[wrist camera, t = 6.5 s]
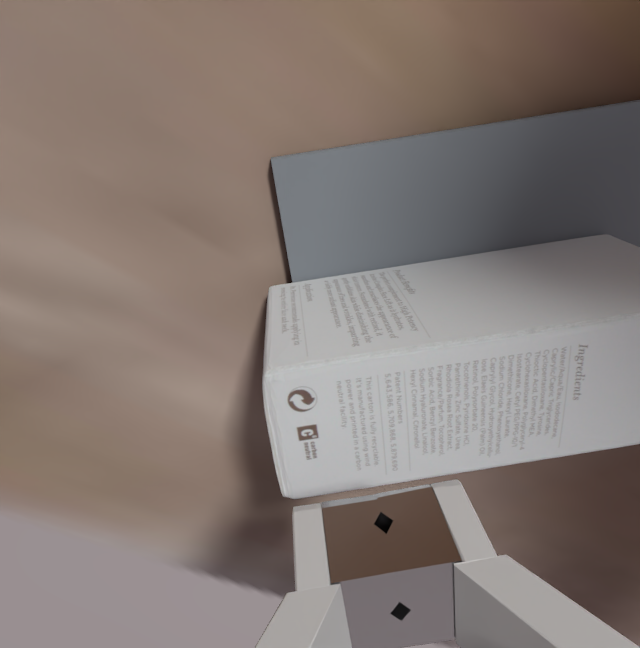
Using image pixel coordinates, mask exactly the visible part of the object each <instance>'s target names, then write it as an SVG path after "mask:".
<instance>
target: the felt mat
mask: <svg viewBox="0 0 640 648" xmlns="http://www.w3.org/2000/svg"><path fill="white" fill-rule="evenodd" d="M271 164H272V169H273V175H274V181H275V187H276V192H277V198H278V204H279V209H280V215H281V221H282V227H283V232H284V238H285V244H286V249H287V255H288V261H289V267H290V272H291V278H292V283H294V282H301V281H307V280H313V279H319V278H325V277H332V276H339V275H345V274H351V273H358V272H364V271H371V270H377V269H384V268H390V267H397V266H403V265H409V264H416V263H422V262H428V261H435V260H441V259H447V258H453V257H460V256H466V255H472V254H479V253H485V252H491V251H498V250H504V249H511V248H517V247H523V246H530V245H536V244H543V243H549V242H556V241H562V240H569V239H575V238H582V237H589V236H596V235H604V234H608V235H611V236H613V237H615V238H618V239H620V240H623V241H625V242H628V243H630V244H633V245H635V246H637V247H640V100H635V101H629V102H623V103H616V104H610V105H604V106H597V107H591V108H584V109H578V110H572V111H565V112H559V113H553V114H546V115H540V116H533V117H527V118H521V119H514V120H508V121H502V122H495V123H489V124H482V125H476V126H470V127H463V128H457V129H451V130H444V131H438V132H431V133H425V134H419V135H412V136H406V137H400V138H393V139H387V140H380V141H374V142H368V143H361V144H355V145H349V146H342V147H336V148H329V149H323V150H317V151H310V152H304V153H297V154H291V155H285V156H278V157H272V158H271Z"/></svg>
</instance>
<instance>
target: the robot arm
mask: <svg viewBox="0 0 640 648" xmlns="http://www.w3.org/2000/svg"><path fill="white" fill-rule="evenodd" d="M292 524H293V548H294V571H295V591H293V592H288V593H286V595H285V596H284V598H283V600H282V602H281V603H280V605H279V607H278V609H277V610H276V612H275V614H274V615H273V617H272V619H271V621H270V622H269V624H268V626H267V627H266V629H265V631H264V633H263V634H262V636H261V638H260V640H259V641H258V643H257V645H256V646H255V648H402V647H408V646H415V645H422V644H429V643H436V642H443V641H450V640H456V643H457V644H458V645H459V646H460V648H640V647H639V646H637V645H636V644H635V643H633V642H632V641H630V640H629V639H627V638H626V637H625V636H623V635H622V634H620V633H619V632H617V631H616V630H614V629H613V628H612V627H610V626H609V625H607V624H606V623H604V622H603V621H601V620H600V619H599V618H597V617H596V616H594V615H593V614H591V613H590V612H588V611H587V610H586V609H584V608H583V607H581V606H580V605H578V604H577V603H576V602H574V601H573V600H571V599H570V598H568V597H567V596H565V595H564V594H563V593H561V592H560V591H558V590H557V589H555V588H554V587H552V586H551V585H550V584H548V583H547V582H545V581H544V580H542V579H541V578H539V577H538V576H537V575H535V574H534V573H532V572H531V571H529V570H528V569H526V568H525V567H524V566H522V565H521V564H519V563H518V562H516V561H515V560H514V559H512V558H511V557H509V556H508V555H500V556H497V554H496V552H495V550H494V548H493V546H492V544H491V542H490V540H489V538H488V536H487V534H486V532H485V530H484V528H483V526H482V524H481V522H480V520H479V518H478V516H477V514H476V512H475V510H474V508H473V506H472V504H471V502H470V500H469V498H468V496H467V494H466V492H465V490H464V488H463V486H462V484H461V482H460V481H458V480H457V479H455V480H449V481H444V482H438V483H433V484H430V485H428V484H427V485H422V486H416V487H411V488H405V489H400V490H394V491H389V492H383V493H378V494H375V495H368V496H361V497H354V498H347V499H340V500H333V501H327V502H322V504H321V503H317V504H310V505H303V506H296V507H293V512H292Z"/></svg>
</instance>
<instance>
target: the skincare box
mask: <svg viewBox="0 0 640 648" xmlns="http://www.w3.org/2000/svg"><path fill="white" fill-rule="evenodd" d="M262 389H263V403H264V411H265V417H266V423H267V428H268V433H269V438H270V444H271V449H272V455H273V460H274V465H275V470H276V474H277V478H278V482H279V486H280V490H281V493H282V495H283V497H288V498H291V499H300V498H306V497H312V496H319V495H325V494H331V493H338V492H344V491H350V490H356V489H363V488H370V487H376V486H381V485H388V484H394V483H401V482H407V481H413V480H419V479H425V478H431V477H438V476H444V475H450V474H456V473H462V472H469V471H476V470H482V469H488V468H494V467H500V466H507V465H513V464H518V463H525V462H531V461H538V460H544V459H550V458H558V457H563V456H569V455H575V454H581V453H588V452H594V451H600V450H607V449H613V448H619V447H625V446H631V445H637V444H640V247H637V246H635V245H633V244H630V243H628V242H625V241H623V240H620V239H618V238H615V237H613V236H611V235H608V234H604V235H596V236H589V237H582V238H575V239H569V240H562V241H556V242H549V243H543V244H536V245H530V246H523V247H517V248H511V249H504V250H498V251H491V252H485V253H479V254H472V255H466V256H460V257H453V258H447V259H441V260H435V261H428V262H422V263H416V264H409V265H403V266H397V267H390V268H384V269H377V270H371V271H364V272H358V273H351V274H345V275H339V276H332V277H325V278H319V279H313V280H307V281H301V282H294V283H288V284H281V285H275V286H271V287H270V288H269V291H268V298H267V312H266V328H265V342H264V358H263V376H262Z"/></svg>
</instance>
